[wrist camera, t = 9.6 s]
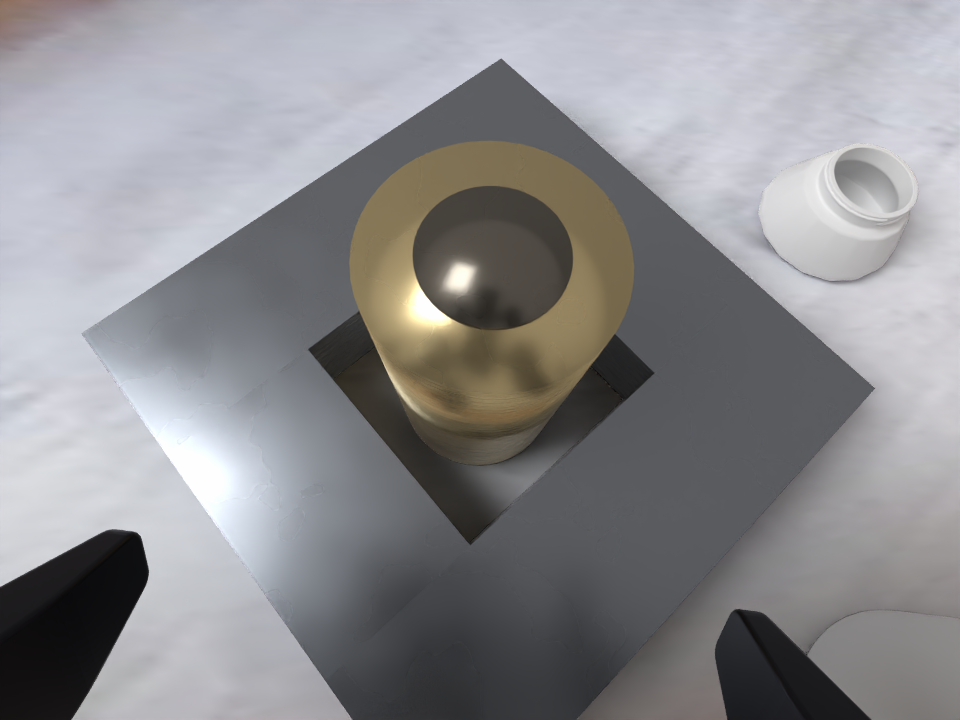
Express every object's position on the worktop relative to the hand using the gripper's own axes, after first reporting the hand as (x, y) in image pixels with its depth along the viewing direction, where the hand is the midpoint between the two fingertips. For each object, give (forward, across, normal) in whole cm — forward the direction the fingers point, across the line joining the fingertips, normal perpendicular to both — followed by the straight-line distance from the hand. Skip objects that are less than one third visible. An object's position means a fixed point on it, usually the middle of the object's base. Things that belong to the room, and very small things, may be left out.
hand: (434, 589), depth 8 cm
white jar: (+16, -13, -4) cm, 21 cm away
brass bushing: (+10, 0, +2) cm, 10 cm away
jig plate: (+10, 0, +2) cm, 10 cm away
